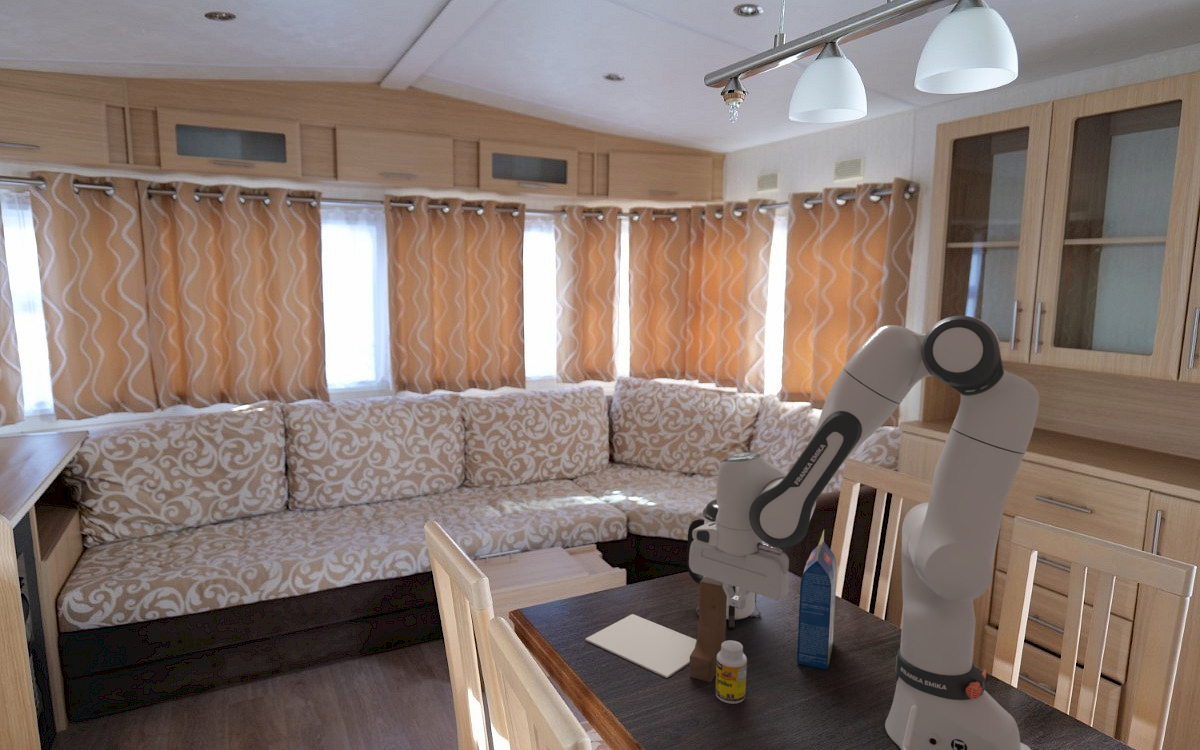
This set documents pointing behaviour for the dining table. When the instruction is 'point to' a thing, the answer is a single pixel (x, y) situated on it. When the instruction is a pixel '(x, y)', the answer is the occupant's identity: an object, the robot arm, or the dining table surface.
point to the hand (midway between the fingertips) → (736, 606)
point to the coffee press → (731, 612)
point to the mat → (646, 644)
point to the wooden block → (709, 629)
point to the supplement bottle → (731, 672)
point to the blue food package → (817, 608)
